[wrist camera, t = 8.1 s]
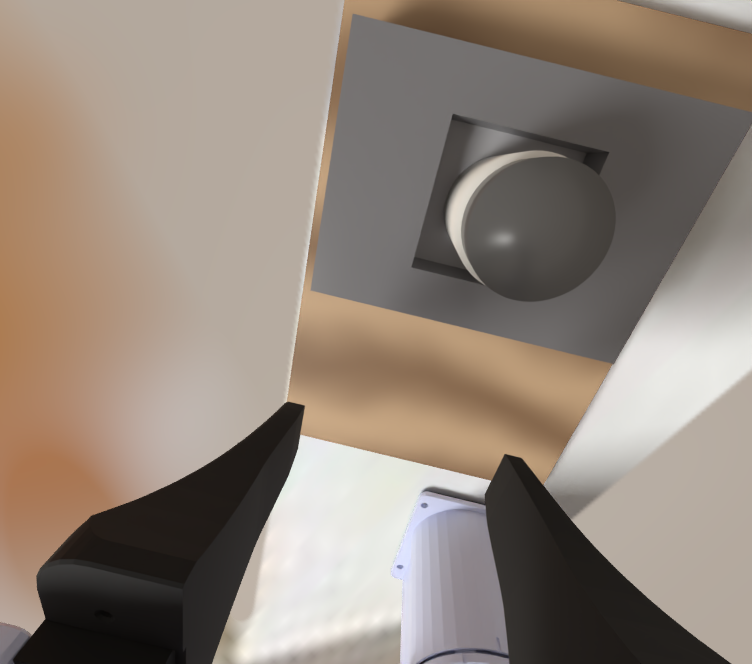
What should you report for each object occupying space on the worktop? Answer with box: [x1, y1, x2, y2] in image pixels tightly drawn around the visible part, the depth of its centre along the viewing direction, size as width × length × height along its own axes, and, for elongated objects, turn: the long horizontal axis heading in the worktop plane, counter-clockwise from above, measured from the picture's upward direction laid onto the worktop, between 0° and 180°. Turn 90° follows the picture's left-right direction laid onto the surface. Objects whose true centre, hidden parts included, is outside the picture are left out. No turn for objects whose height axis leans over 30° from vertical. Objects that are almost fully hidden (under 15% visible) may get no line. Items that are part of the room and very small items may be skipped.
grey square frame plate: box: [311, 14, 752, 364], centre depth 16 cm, size 14×10×3 cm
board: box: [287, 0, 752, 484], centre depth 20 cm, size 24×17×1 cm
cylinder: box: [444, 151, 616, 302], centre depth 14 cm, size 4×4×6 cm
